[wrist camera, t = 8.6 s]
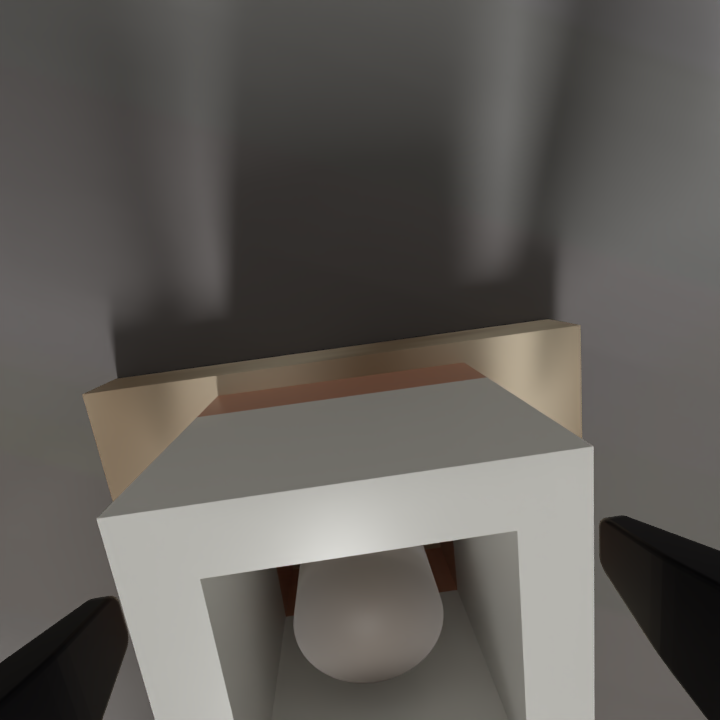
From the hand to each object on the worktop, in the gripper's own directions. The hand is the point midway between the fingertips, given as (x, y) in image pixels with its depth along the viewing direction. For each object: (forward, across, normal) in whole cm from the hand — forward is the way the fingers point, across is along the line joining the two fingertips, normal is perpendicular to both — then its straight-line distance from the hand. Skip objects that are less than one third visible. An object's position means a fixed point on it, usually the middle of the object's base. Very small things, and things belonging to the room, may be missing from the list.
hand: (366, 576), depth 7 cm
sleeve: (+3, 0, 0) cm, 3 cm away
